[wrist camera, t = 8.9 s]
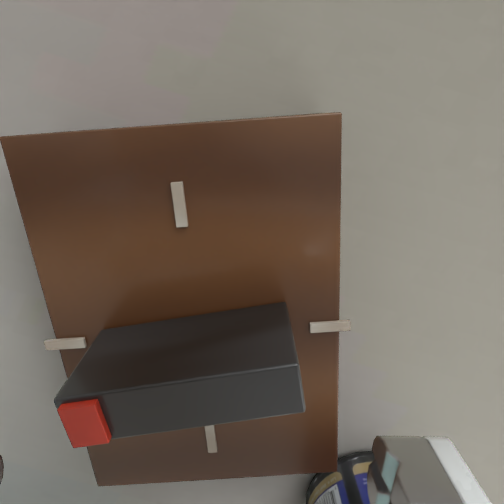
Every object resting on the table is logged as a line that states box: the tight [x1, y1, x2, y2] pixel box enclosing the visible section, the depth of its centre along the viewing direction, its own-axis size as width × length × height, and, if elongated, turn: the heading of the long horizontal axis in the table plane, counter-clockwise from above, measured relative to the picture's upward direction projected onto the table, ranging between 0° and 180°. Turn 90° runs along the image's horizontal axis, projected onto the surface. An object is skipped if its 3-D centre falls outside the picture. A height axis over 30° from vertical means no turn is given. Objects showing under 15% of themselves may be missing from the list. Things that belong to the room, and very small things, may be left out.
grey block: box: [54, 302, 306, 448], centre depth 11 cm, size 6×2×4 cm, turn 99°
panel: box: [0, 112, 351, 486], centre depth 15 cm, size 14×11×3 cm
